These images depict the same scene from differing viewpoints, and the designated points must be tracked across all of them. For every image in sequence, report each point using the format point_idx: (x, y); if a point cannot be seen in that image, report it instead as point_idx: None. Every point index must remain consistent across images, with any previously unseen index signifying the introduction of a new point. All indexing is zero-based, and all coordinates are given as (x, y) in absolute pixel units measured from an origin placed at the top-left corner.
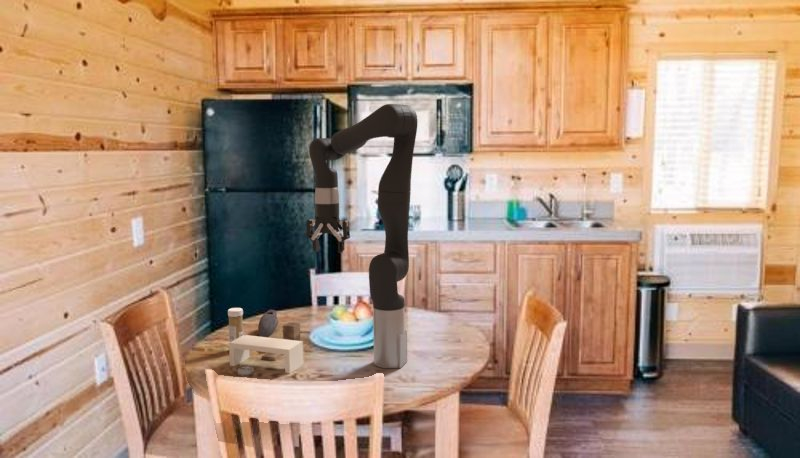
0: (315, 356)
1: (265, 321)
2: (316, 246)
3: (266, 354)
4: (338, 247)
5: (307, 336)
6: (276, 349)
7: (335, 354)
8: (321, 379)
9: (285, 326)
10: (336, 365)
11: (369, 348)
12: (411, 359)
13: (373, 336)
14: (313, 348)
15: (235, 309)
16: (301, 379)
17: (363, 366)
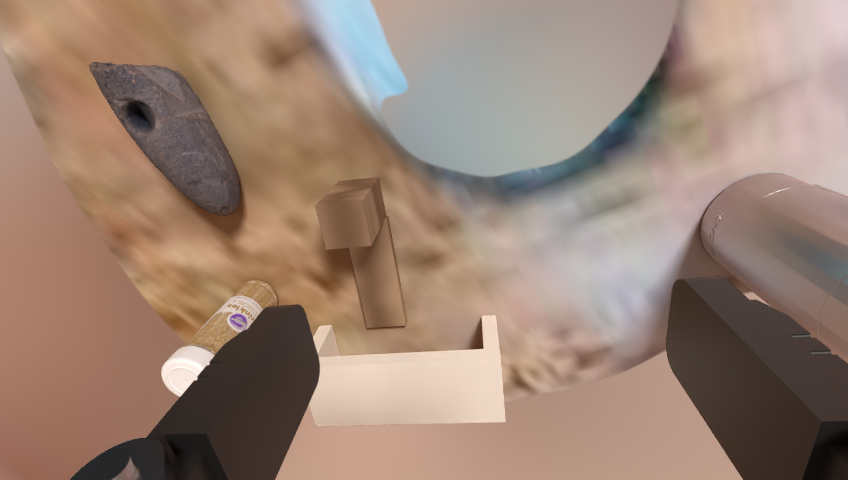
0: (493, 255)
1: (201, 189)
2: (289, 415)
3: (369, 315)
4: (718, 427)
5: (345, 93)
6: (464, 420)
7: (544, 217)
8: (594, 376)
9: (337, 247)
10: (590, 291)
11: (636, 116)
12: (830, 158)
13: (757, 288)
14: (445, 197)
15: (188, 382)
16: (547, 390)
17: (673, 271)
